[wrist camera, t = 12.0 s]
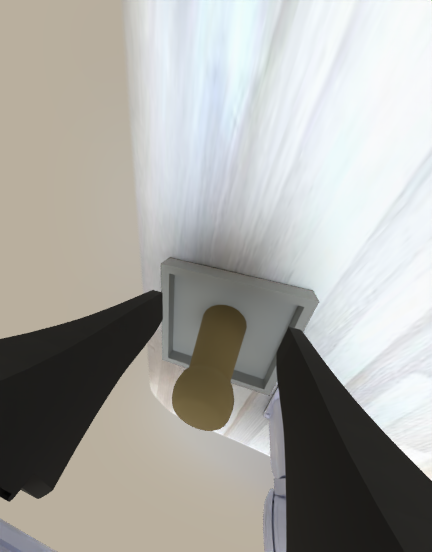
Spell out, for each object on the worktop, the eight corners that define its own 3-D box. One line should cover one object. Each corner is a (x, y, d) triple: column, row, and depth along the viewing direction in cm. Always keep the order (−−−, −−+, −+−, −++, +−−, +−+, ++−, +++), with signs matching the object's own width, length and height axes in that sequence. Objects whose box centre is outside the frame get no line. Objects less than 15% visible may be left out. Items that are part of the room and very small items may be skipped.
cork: (251, 339, 22) (244, 448, 13) (210, 341, 24) (177, 436, 15) (240, 301, 20) (221, 398, 10) (196, 307, 22) (147, 393, 12)
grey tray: (268, 381, 26) (269, 395, 24) (168, 349, 28) (162, 359, 26) (313, 290, 18) (319, 301, 16) (169, 257, 20) (160, 263, 19)
